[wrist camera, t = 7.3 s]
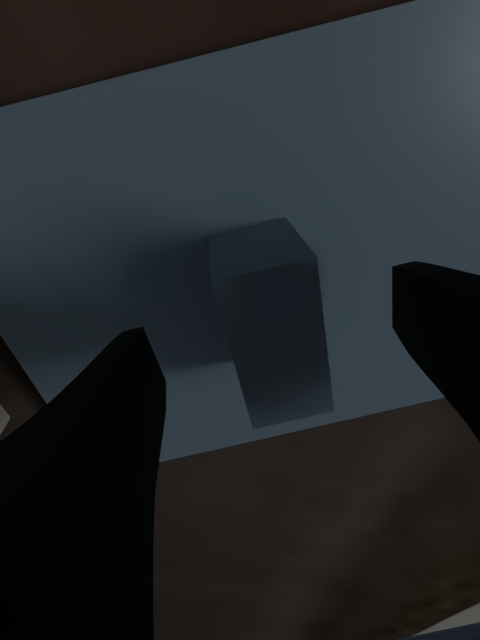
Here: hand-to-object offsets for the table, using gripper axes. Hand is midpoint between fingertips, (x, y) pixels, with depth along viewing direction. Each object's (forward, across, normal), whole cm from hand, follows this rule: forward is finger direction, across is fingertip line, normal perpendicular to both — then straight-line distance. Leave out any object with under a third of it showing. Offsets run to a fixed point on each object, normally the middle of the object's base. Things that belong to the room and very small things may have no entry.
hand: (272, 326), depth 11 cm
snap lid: (+4, 0, 0) cm, 4 cm away
